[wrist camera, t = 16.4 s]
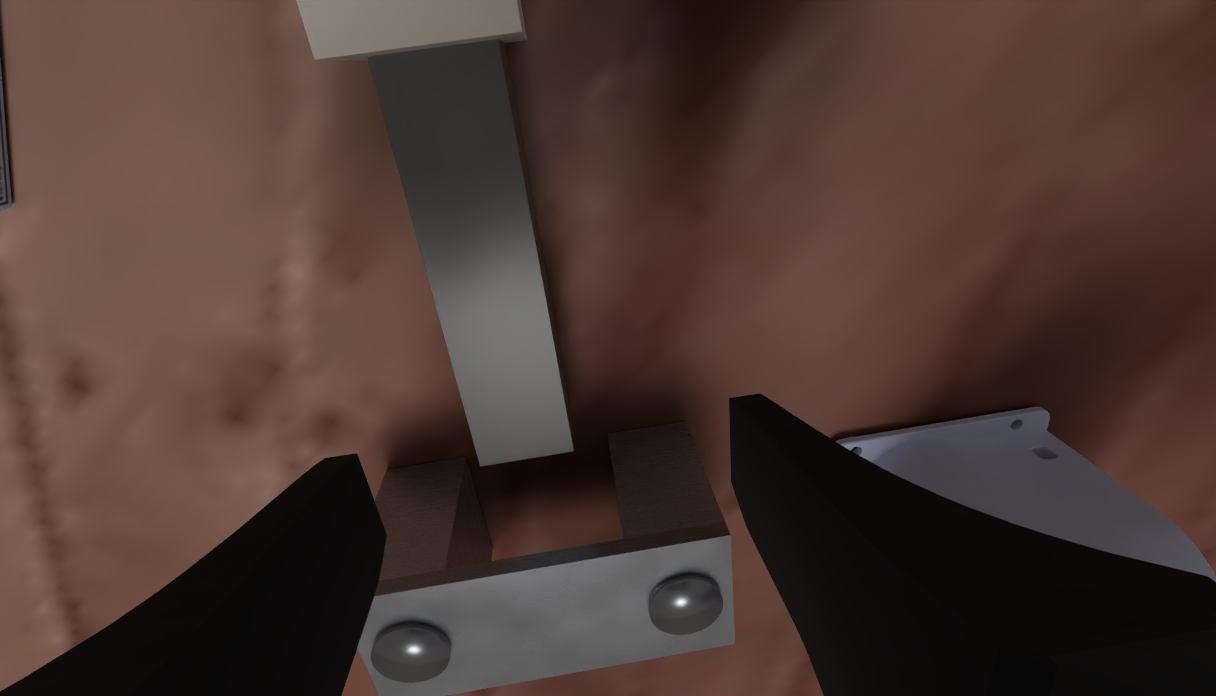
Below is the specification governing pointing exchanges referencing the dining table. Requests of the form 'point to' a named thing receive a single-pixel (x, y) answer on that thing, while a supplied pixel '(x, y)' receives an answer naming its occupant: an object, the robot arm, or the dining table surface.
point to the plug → (466, 202)
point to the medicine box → (3, 157)
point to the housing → (547, 578)
